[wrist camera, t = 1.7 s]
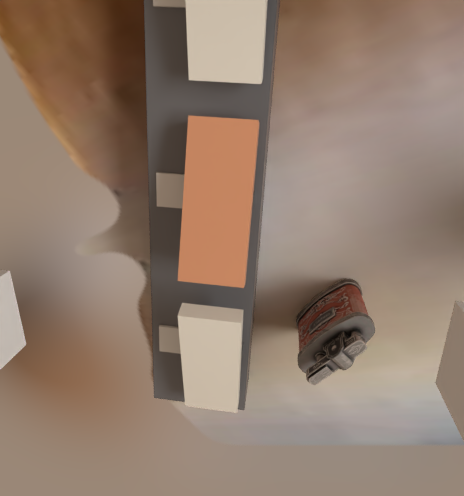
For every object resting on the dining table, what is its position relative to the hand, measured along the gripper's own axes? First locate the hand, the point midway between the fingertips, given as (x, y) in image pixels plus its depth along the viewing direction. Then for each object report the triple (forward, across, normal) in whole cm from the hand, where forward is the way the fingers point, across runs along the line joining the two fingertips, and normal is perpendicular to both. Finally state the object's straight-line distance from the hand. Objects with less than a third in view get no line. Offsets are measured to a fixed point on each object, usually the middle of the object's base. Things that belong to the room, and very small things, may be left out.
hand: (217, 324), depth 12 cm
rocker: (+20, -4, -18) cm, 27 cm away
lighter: (+29, +7, -15) cm, 33 cm away
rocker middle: (+21, -4, -2) cm, 21 cm away
